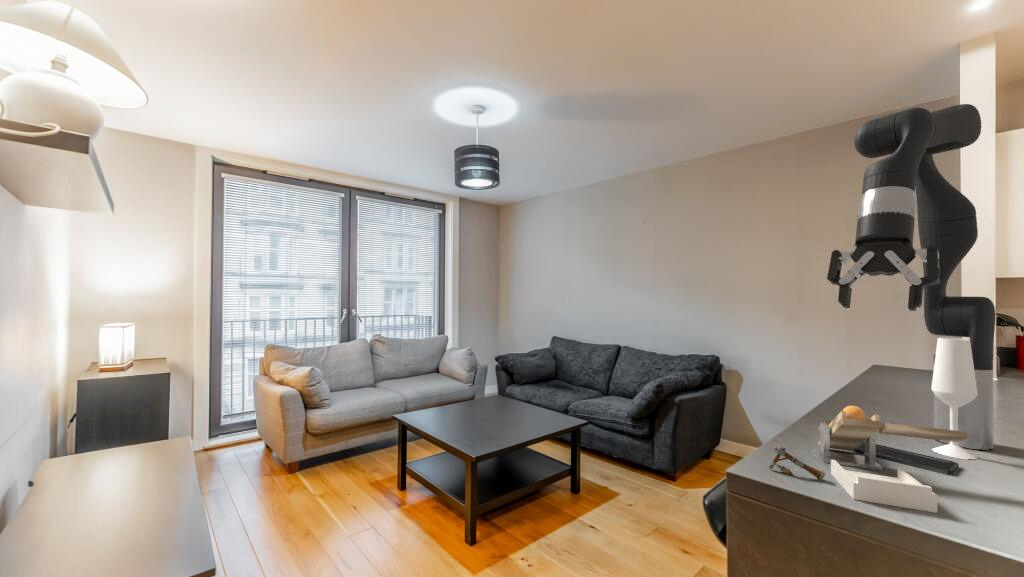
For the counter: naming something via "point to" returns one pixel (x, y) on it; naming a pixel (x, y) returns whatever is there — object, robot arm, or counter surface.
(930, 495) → the tray
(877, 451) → the phone
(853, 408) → the ball
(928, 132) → the robot arm
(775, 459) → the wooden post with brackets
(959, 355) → the champagne flute
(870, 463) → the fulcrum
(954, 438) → the lever
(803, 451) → the counter surface
